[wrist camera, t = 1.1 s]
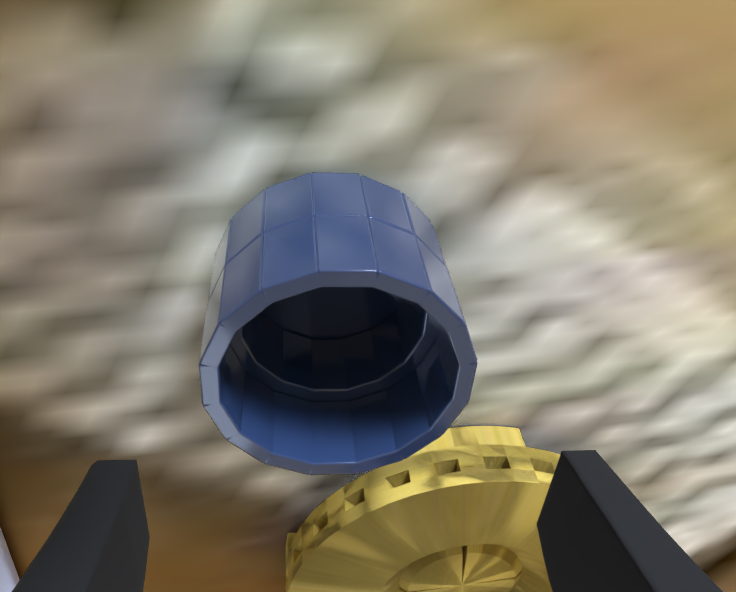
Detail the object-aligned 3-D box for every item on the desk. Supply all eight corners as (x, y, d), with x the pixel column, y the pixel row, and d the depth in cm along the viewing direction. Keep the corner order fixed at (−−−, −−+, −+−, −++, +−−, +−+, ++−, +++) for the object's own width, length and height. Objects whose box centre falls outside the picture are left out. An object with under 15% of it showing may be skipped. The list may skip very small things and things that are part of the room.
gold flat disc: (679, 515, 26) (708, 568, 24) (448, 658, 31) (458, 711, 29) (457, 368, 21) (473, 423, 19) (217, 569, 25) (212, 628, 23)
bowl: (221, 347, 19) (207, 478, 16) (210, 158, 16) (190, 268, 12) (423, 347, 20) (454, 472, 16) (451, 165, 17) (498, 271, 13)
